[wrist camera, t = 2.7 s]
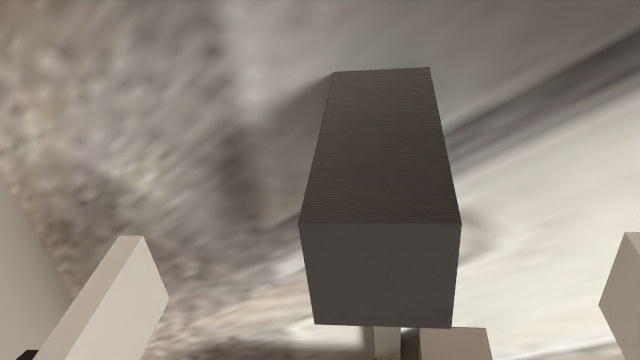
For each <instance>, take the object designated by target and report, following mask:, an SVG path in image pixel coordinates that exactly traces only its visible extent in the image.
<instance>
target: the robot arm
mask: <svg viewBox="0 0 640 360" xmlns="http://www.w3.org/2000/svg"><path fill="white" fill-rule="evenodd" d="M168 301H169V296H168V294H167V291H166V289H165V287H164V284H163V282H162V279H161V277H160V275H159V272H158V270H157V267H156V265H155V263H154V260H153V258H152V256H151V253H150V251H149V248H148V246H147V244H146V241H145V239H144V236H119V237H118V238H117V239H116V241H115V242H114V244H113V245H112V247H111V248H110V249H109V251H108V252H107V254H106V255H105V257H104V258H103V259H102V261H101V262H100V264H99V265H98V267H97V268H96V270H95V271H94V272H93V274H92V275H91V277H90V278H89V280H88V281H87V282H86V284H85V285H84V287H83V288H82V290H81V291H80V292H79V294H78V295H77V297H76V298H75V300H74V301H73V303H72V304H71V305H70V307H69V308H68V310H67V311H66V313H65V314H64V315H63V317H62V318H61V320H60V321H59V323H58V324H57V325H56V327H55V328H54V330H53V331H52V333H51V334H50V336H49V337H48V338H47V340H46V341H45V343H44V344H43V346H42V347H41V348H40V350H26V351H25V352H24V353H23V354H22V355H21V356H20V357H18V358H17V359H16V360H141V357H142V355H143V353H144V351H145V349H146V347H147V345H148V343H149V341H150V339H151V337H152V334H153V332H154V330H155V328H156V326H157V324H158V322H159V320H160V318H161V316H162V314H163V311H164V309H165V307H166V305H167V303H168ZM599 307H600V309H601V311H602V313H603V315H604V317H605V319H606V321H607V323H608V325H609V327H610V329H611V331H612V333H613V335H614V337H615V339H616V341H617V343H618V345H619V347H620V349H621V351H622V353H623V355H624V357H625V359H626V360H640V232H625V233H624V236H623V239H622V241H621V244H620V247H619V250H618V252H617V255H616V258H615V261H614V263H613V266H612V269H611V272H610V274H609V277H608V280H607V283H606V285H605V288H604V291H603V294H602V296H601V299H600V302H599Z"/></svg>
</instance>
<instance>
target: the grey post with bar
mask: <svg viewBox="0 0 640 360" xmlns="http://www.w3.org/2000/svg"><path fill="white" fill-rule="evenodd" d="M298 226H299V232H300V238H301V244H302V250H303V256H304V262H305V268H306V274H307V280H308V286H309V292H310V298H311V304H312V311H313V317H314V323H315V324H319V325H347V326H374V345H375V360H401V327H404V328H433V329H451V325H452V315H453V305H454V295H455V285H456V276H457V266H458V256H459V246H460V236H461V226H462V222H461V218H460V213H459V208H458V203H457V198H456V193H455V189H454V184H453V179H452V174H451V169H450V165H449V160H448V155H447V150H446V145H445V141H444V136H443V131H442V126H441V121H440V116H439V112H438V107H437V102H436V97H435V92H434V88H433V83H432V78H431V73H430V68H409V69H390V70H370V71H351V72H334V76H333V80H332V84H331V88H330V92H329V97H328V101H327V105H326V109H325V113H324V117H323V122H322V126H321V130H320V134H319V138H318V142H317V147H316V151H315V155H314V159H313V163H312V167H311V172H310V176H309V180H308V184H307V188H306V192H305V197H304V201H303V205H302V209H301V213H300V217H299V222H298Z"/></svg>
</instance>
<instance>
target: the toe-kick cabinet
mask: <svg viewBox="0 0 640 360" xmlns="http://www.w3.org/2000/svg"><path fill="white" fill-rule="evenodd" d="M418 360H492V356H491V351H490V346H489V342H488V337H487V332H486V329H484V328H454V327H451V329H433V328H419V350H418Z"/></svg>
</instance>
